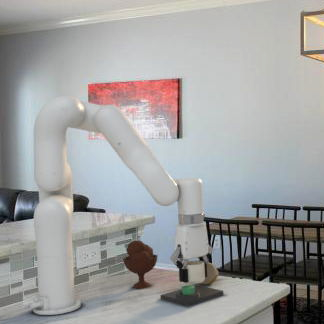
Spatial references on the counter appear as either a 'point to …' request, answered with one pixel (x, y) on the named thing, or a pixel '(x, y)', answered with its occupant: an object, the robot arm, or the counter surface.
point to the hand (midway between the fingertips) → (193, 278)
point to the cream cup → (195, 271)
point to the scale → (192, 296)
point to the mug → (210, 274)
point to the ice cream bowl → (140, 261)
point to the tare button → (188, 290)
